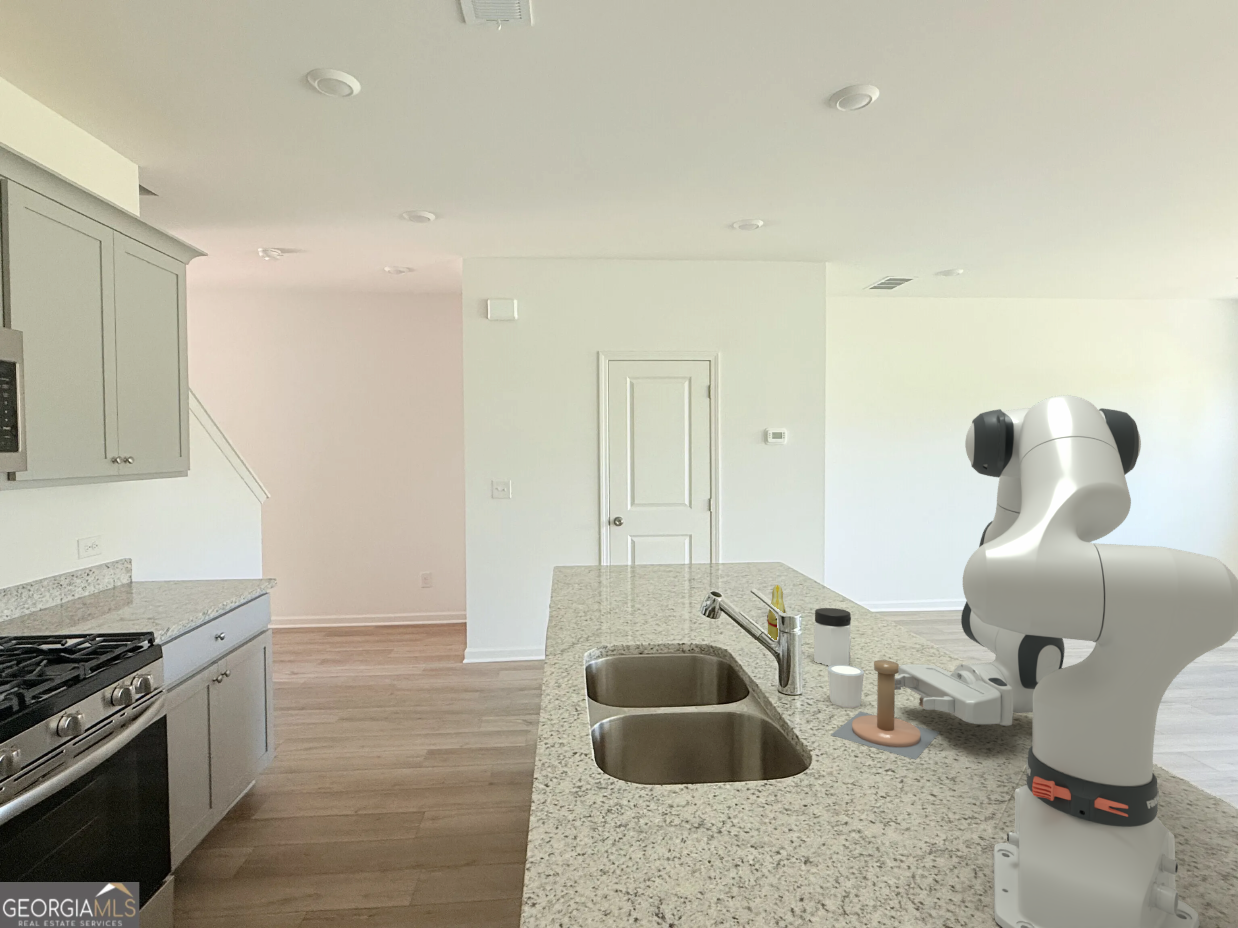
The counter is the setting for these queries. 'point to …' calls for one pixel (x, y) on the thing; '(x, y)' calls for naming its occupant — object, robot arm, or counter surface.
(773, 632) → the chocolate bunny
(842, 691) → the shot glass
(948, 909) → the counter surface
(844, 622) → the jar
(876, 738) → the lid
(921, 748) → the mat
